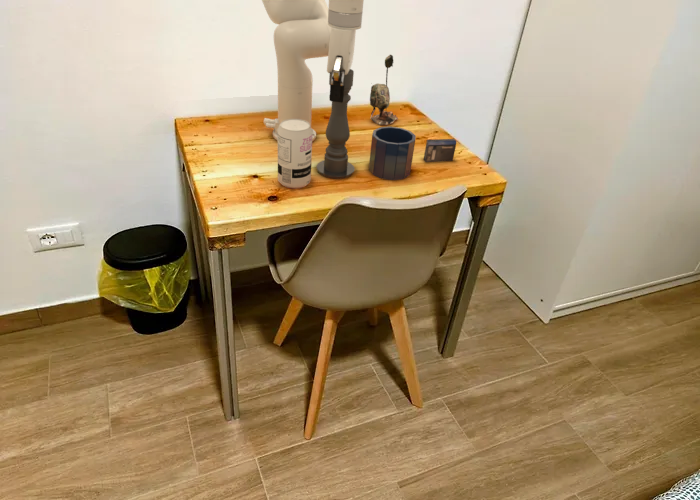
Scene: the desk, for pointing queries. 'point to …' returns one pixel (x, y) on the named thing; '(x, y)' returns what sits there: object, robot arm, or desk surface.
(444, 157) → the mini dv tape
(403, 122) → the desk surface
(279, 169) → the supplement can
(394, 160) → the crock
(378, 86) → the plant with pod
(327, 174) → the coaster
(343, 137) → the candle holder
